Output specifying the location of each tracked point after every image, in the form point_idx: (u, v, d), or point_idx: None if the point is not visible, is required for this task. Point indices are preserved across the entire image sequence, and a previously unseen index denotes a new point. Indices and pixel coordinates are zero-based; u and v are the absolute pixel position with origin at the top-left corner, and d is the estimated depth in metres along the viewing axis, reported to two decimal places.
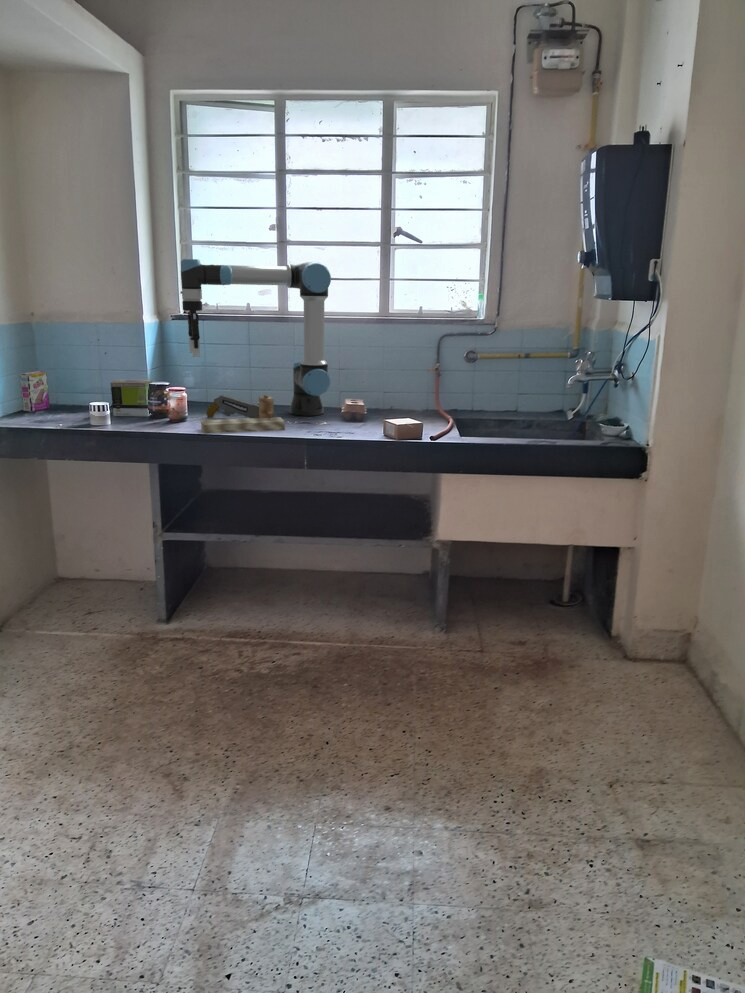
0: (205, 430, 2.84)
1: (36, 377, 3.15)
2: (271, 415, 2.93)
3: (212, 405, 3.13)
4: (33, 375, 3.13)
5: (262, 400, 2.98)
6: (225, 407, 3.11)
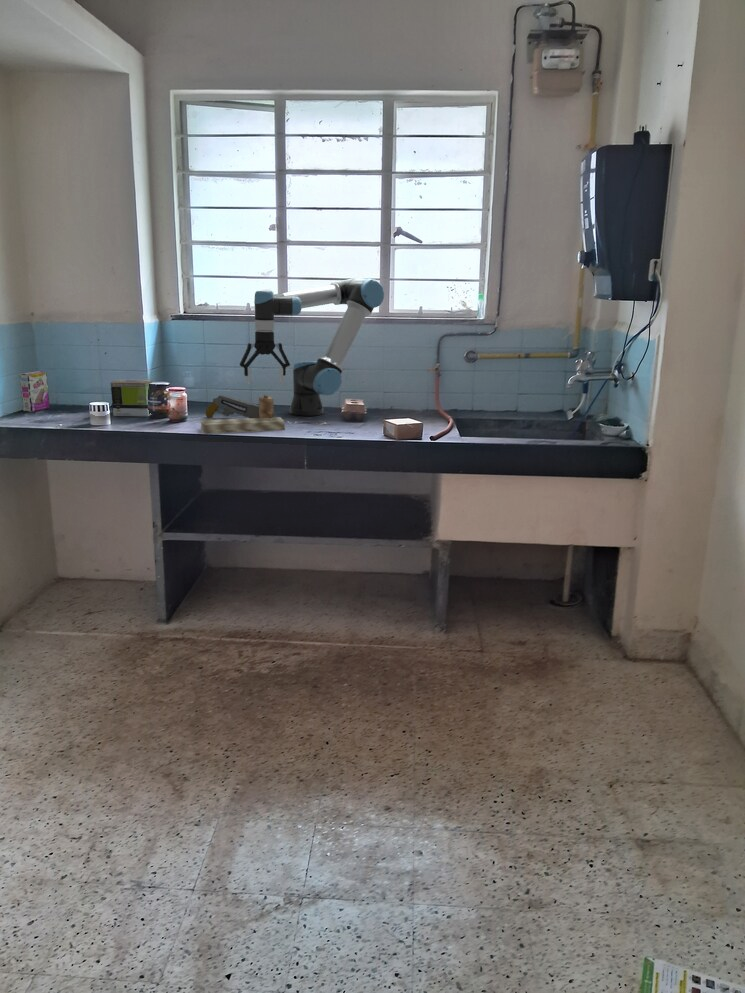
0: (205, 430, 2.84)
1: (36, 377, 3.15)
2: (271, 415, 2.93)
3: (211, 405, 3.13)
4: (33, 375, 3.13)
5: (262, 400, 2.98)
6: (224, 407, 3.11)
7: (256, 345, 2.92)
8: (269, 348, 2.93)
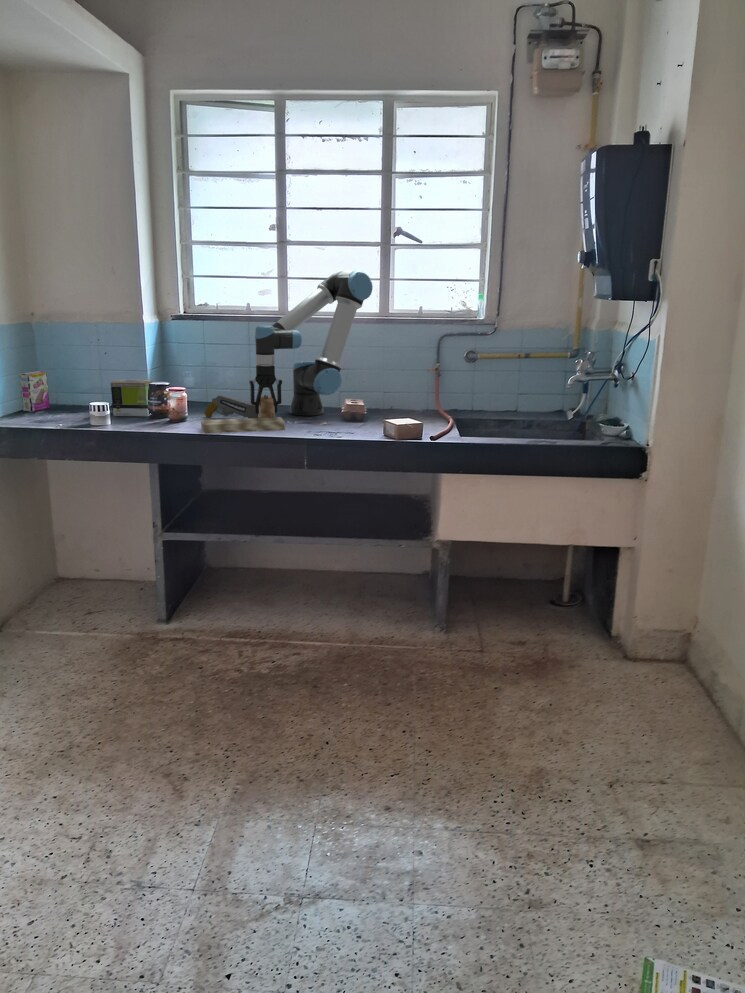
0: (205, 430, 2.84)
1: (36, 377, 3.15)
2: (271, 415, 2.93)
3: (210, 405, 3.13)
4: (33, 375, 3.13)
5: (262, 400, 2.98)
6: (223, 407, 3.11)
7: (257, 379, 2.96)
8: (269, 382, 2.97)
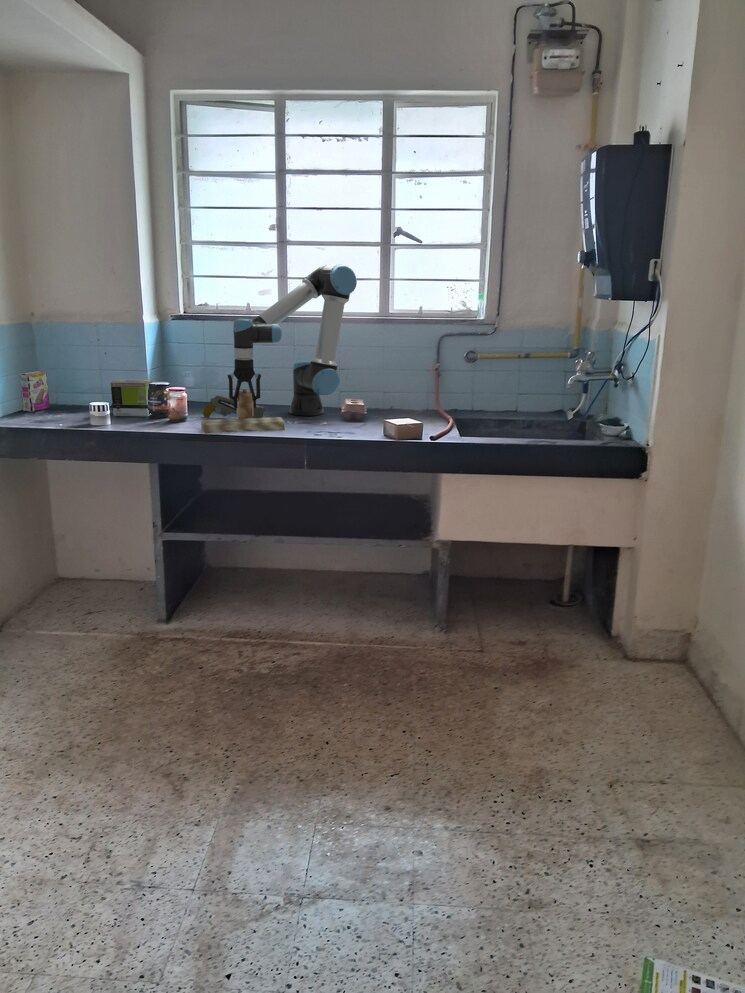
0: (205, 430, 2.84)
1: (36, 377, 3.15)
2: (249, 409, 2.89)
3: (208, 405, 3.13)
4: (33, 375, 3.13)
5: (240, 394, 2.93)
6: (221, 407, 3.11)
7: (235, 373, 2.92)
8: (248, 376, 2.93)
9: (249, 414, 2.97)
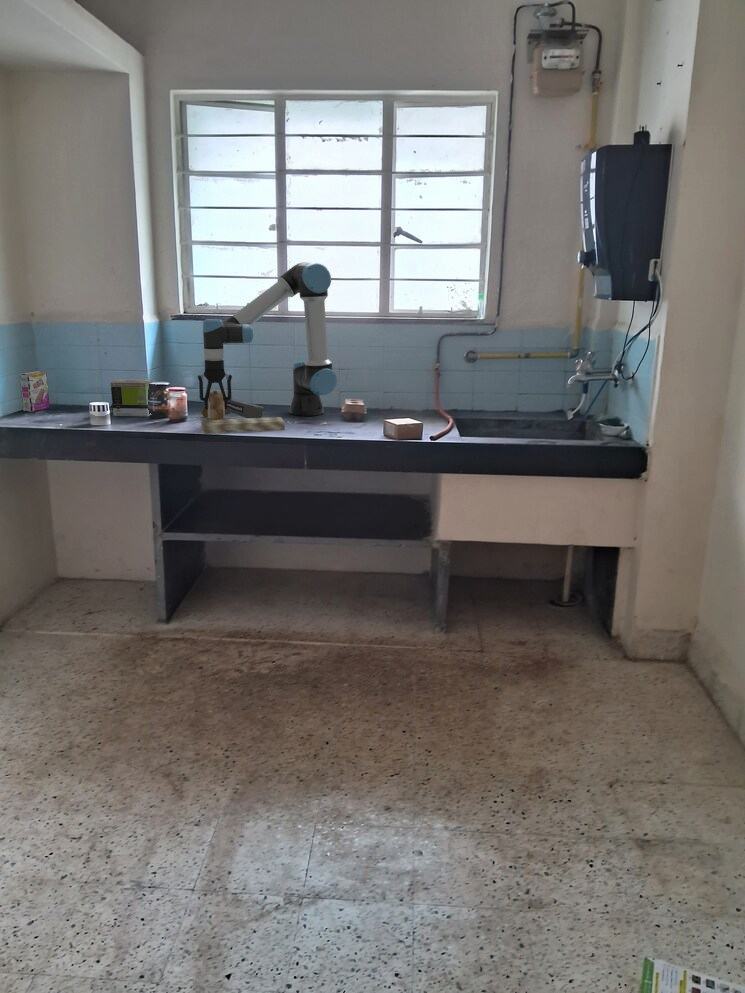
0: (205, 430, 2.84)
1: (36, 377, 3.15)
2: (219, 411, 2.86)
3: None
4: (33, 375, 3.13)
5: (211, 395, 2.90)
6: None
7: (206, 374, 2.88)
8: (218, 377, 2.89)
9: (220, 415, 2.93)
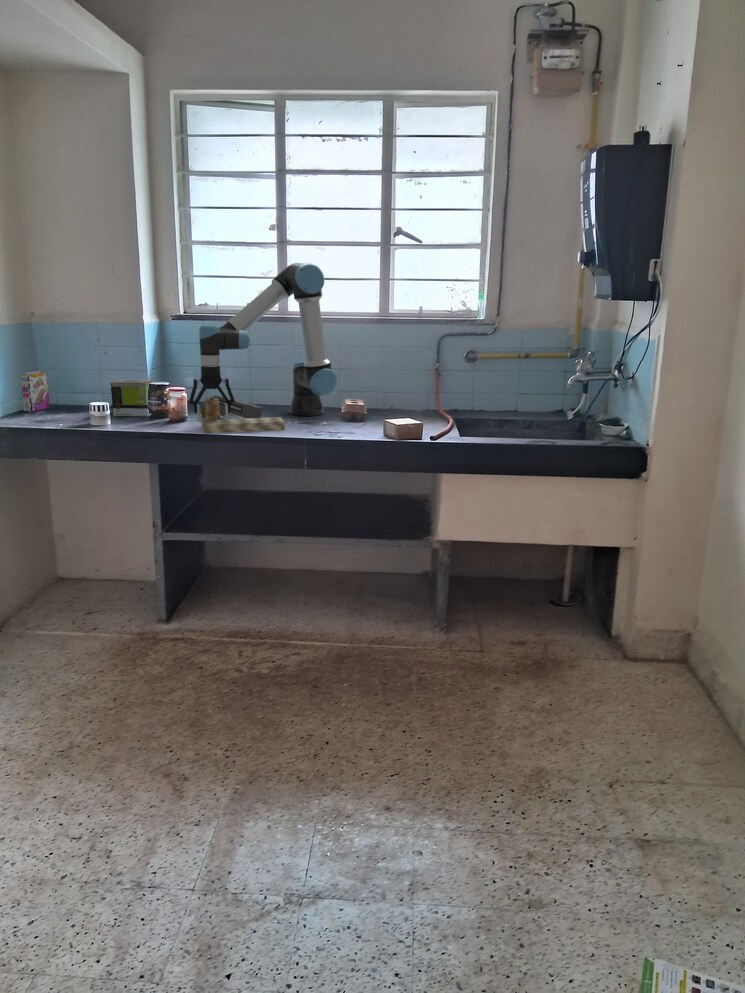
0: (205, 430, 2.84)
1: (36, 377, 3.15)
2: (216, 417, 2.86)
3: None
4: (33, 375, 3.13)
5: (207, 402, 2.90)
6: (220, 407, 3.11)
7: (202, 380, 2.89)
8: (215, 383, 2.90)
9: None
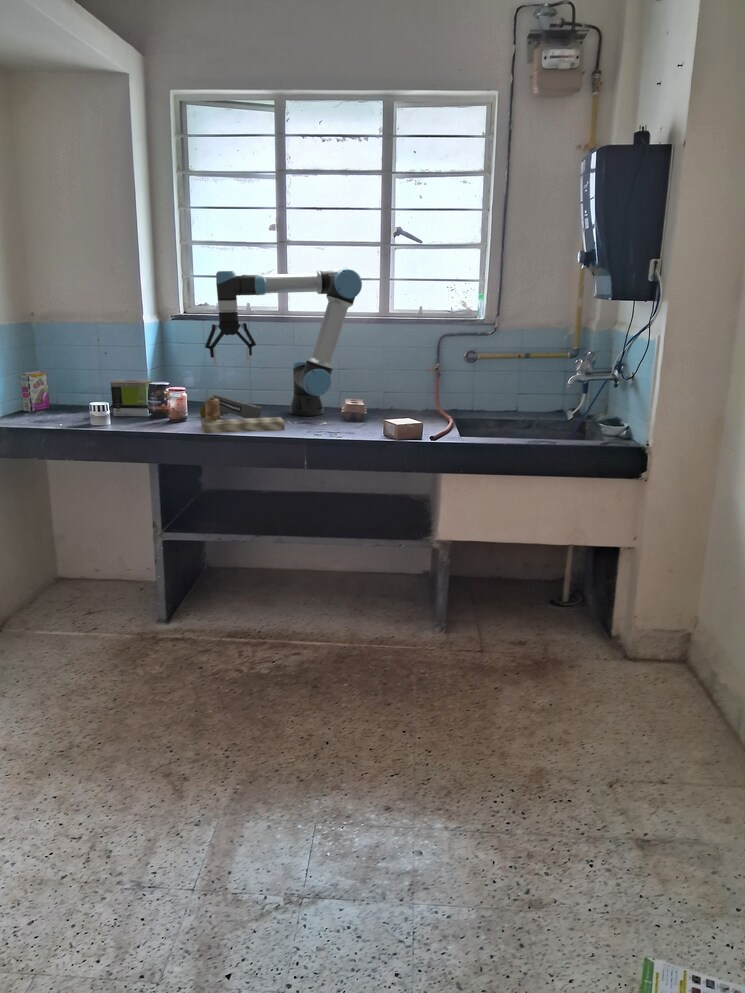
0: (205, 430, 2.84)
1: (36, 377, 3.15)
2: (216, 418, 2.86)
3: None
4: (33, 375, 3.13)
5: (207, 402, 2.90)
6: None
7: (220, 326, 2.92)
8: (234, 328, 2.93)
9: None
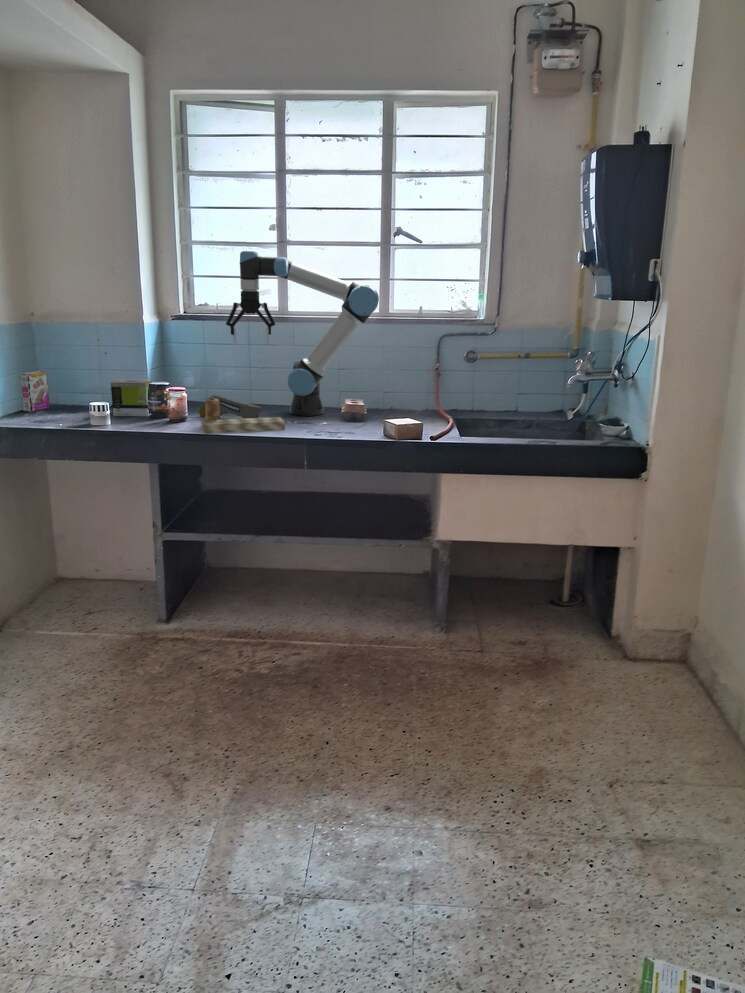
0: (205, 430, 2.84)
1: (36, 377, 3.15)
2: (216, 417, 2.86)
3: None
4: (33, 375, 3.13)
5: (207, 402, 2.90)
6: None
7: (242, 304, 3.01)
8: (254, 307, 3.02)
9: None
